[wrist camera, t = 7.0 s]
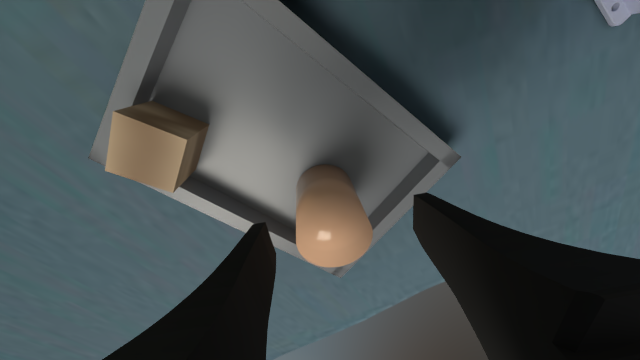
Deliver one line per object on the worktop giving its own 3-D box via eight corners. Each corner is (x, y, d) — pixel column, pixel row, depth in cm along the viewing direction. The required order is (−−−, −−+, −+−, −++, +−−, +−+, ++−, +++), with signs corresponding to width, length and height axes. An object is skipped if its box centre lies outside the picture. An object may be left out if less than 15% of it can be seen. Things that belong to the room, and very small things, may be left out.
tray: (444, 147, 21) (461, 156, 19) (337, 260, 26) (340, 278, 24) (196, -64, 14) (177, -87, 12) (112, 147, 19) (88, 158, 17)
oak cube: (209, 124, 18) (187, 140, 14) (196, 169, 20) (173, 193, 16) (152, 100, 17) (112, 111, 13) (142, 149, 18) (105, 170, 15)
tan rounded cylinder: (362, 178, 21) (387, 224, 15) (334, 220, 23) (347, 275, 17) (312, 154, 20) (319, 194, 14) (286, 201, 21) (282, 254, 16)
